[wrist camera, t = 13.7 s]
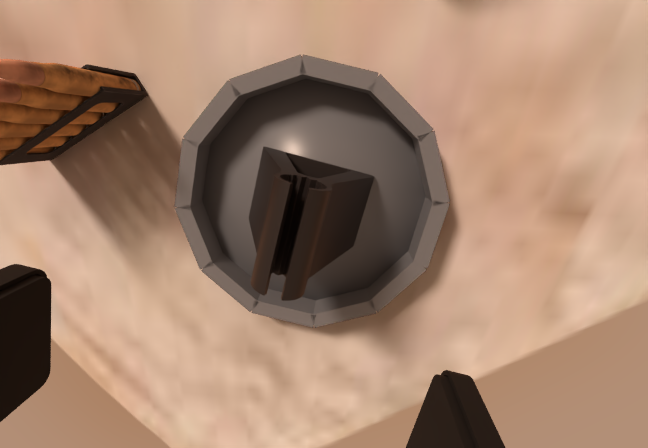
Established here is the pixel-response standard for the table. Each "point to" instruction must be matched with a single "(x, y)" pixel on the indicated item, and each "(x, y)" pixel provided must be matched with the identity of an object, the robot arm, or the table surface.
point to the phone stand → (302, 218)
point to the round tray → (325, 146)
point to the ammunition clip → (57, 106)
